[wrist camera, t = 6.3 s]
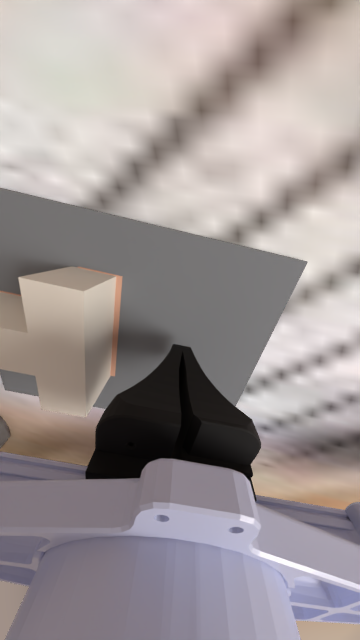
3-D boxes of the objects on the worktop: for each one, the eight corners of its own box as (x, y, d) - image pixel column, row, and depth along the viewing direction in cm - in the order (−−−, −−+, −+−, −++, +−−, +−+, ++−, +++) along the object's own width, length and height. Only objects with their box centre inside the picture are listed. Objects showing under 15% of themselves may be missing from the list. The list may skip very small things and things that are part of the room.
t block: (110, 376, 15) (85, 417, 12) (7, 356, 15) (-52, 392, 11) (116, 276, 12) (83, 291, 8) (-21, 245, 11) (-121, 247, 8)
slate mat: (222, 427, 18) (223, 431, 18) (8, 386, 17) (4, 390, 17) (303, 261, 11) (308, 261, 11) (-47, 176, 10) (-58, 174, 10)
